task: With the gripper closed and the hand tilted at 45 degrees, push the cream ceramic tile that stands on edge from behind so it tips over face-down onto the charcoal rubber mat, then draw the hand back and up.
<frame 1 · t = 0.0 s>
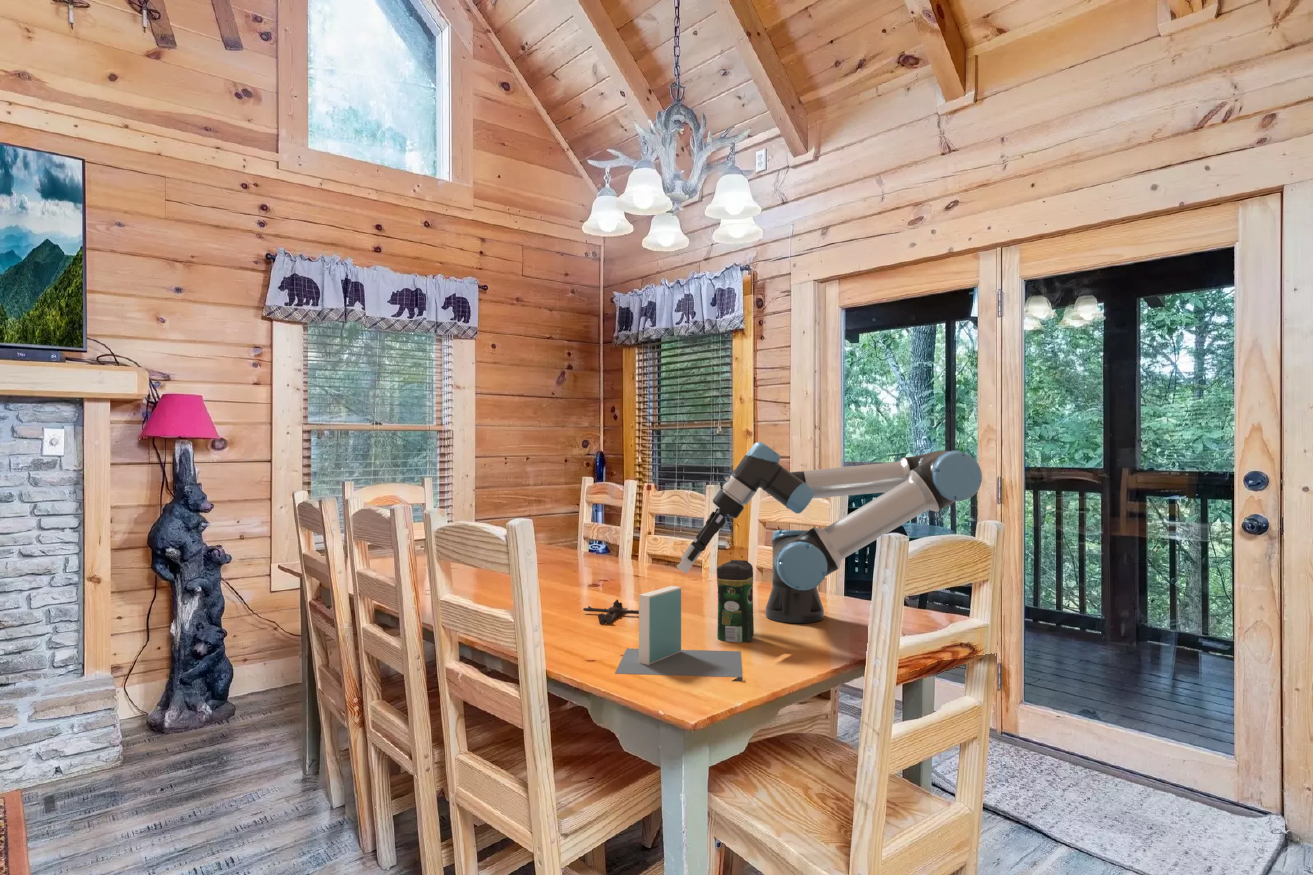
hand: (683, 565, 187), 15 cm above the table, tool tilted 35°, fingers open, 13 cm apart
coffee jar: (735, 641, 175), on the table
mat: (680, 665, 155), on the table
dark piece: (612, 619, 197), on the table
tile: (660, 656, 158), point 1 cm above the table, touching mat
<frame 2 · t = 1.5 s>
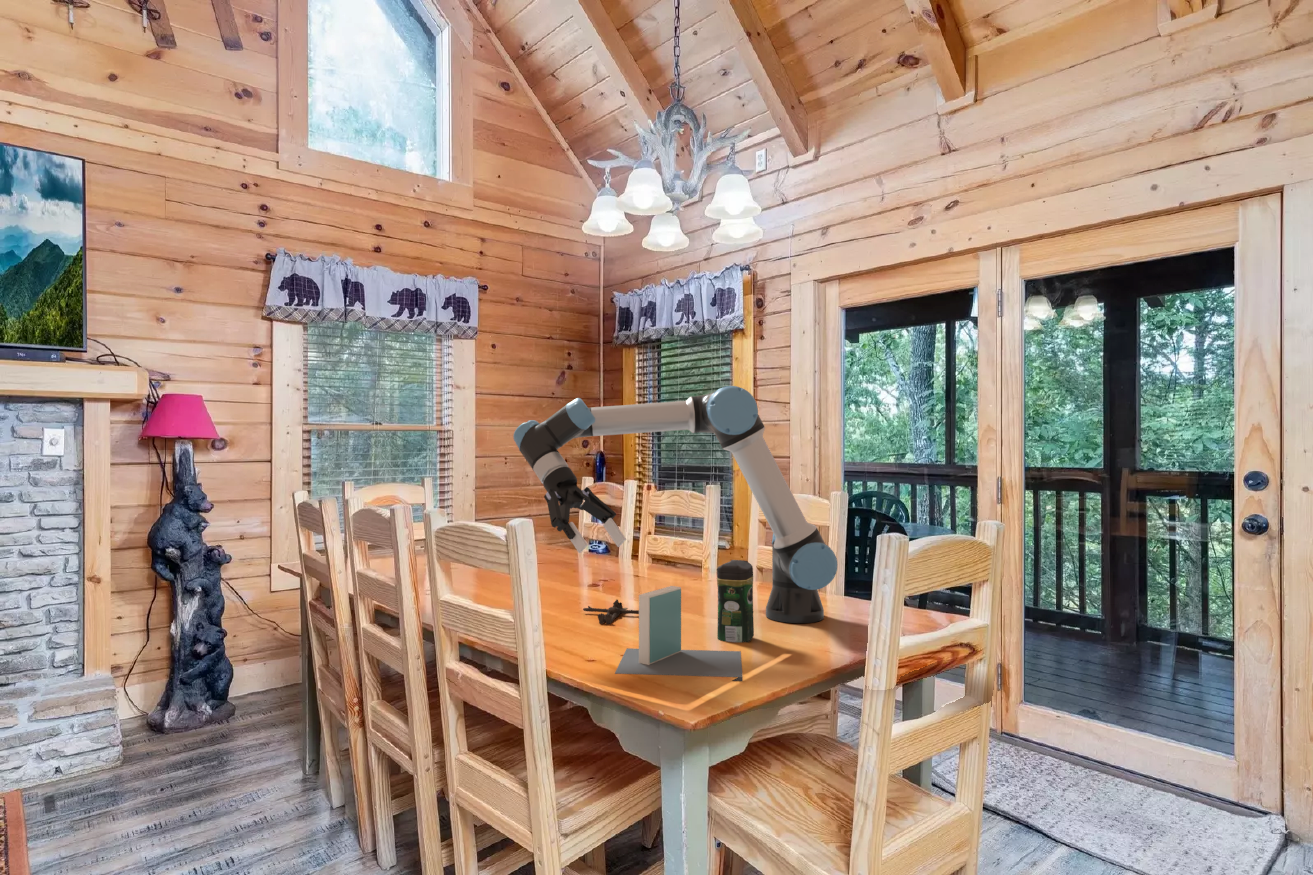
hand: (603, 546, 168), 23 cm above the table, tool tilted 45°, fingers open, 13 cm apart
nothing on the table moved.
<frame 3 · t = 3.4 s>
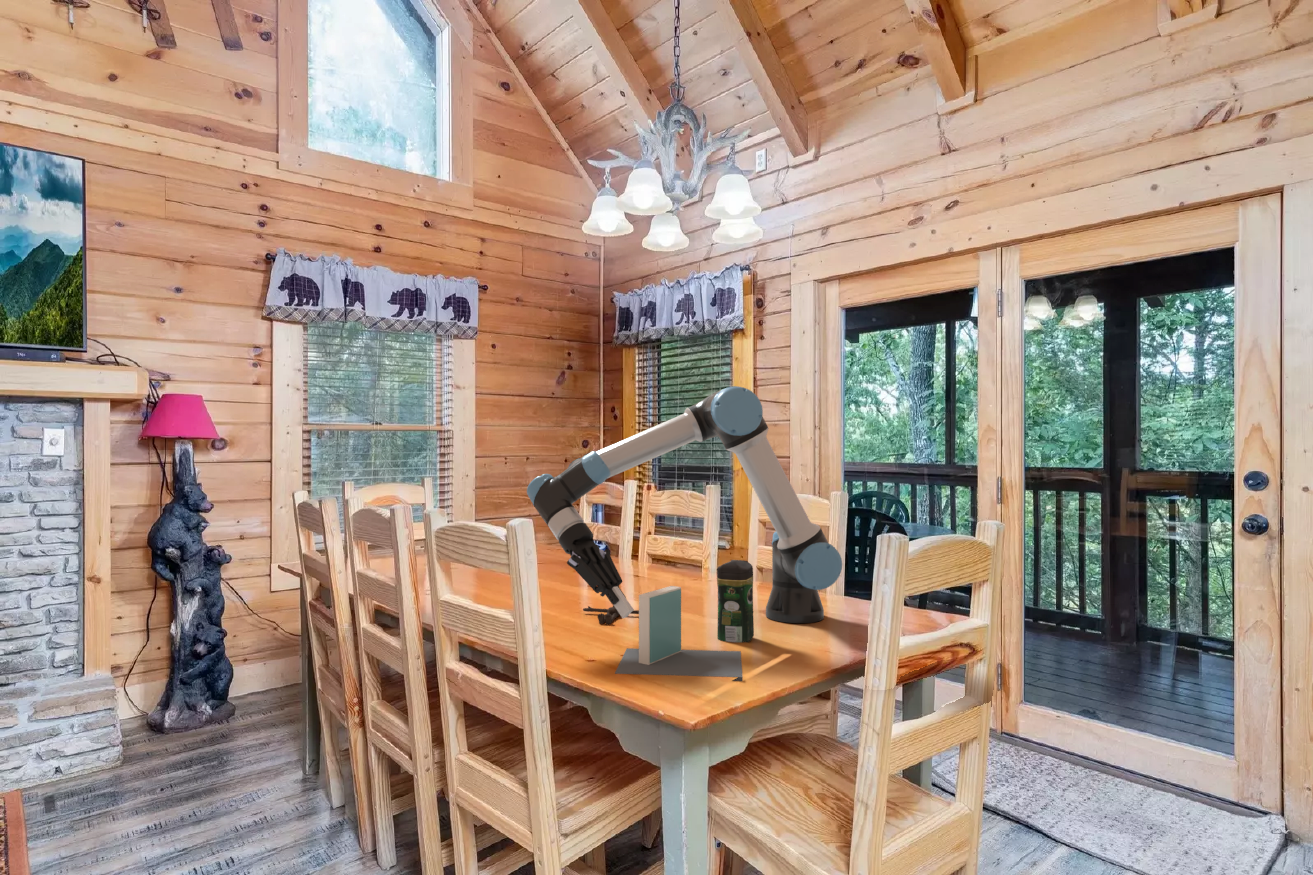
hand: (628, 613, 163), 9 cm above the table, tool tilted 45°, fingers closed
nothing on the table moved.
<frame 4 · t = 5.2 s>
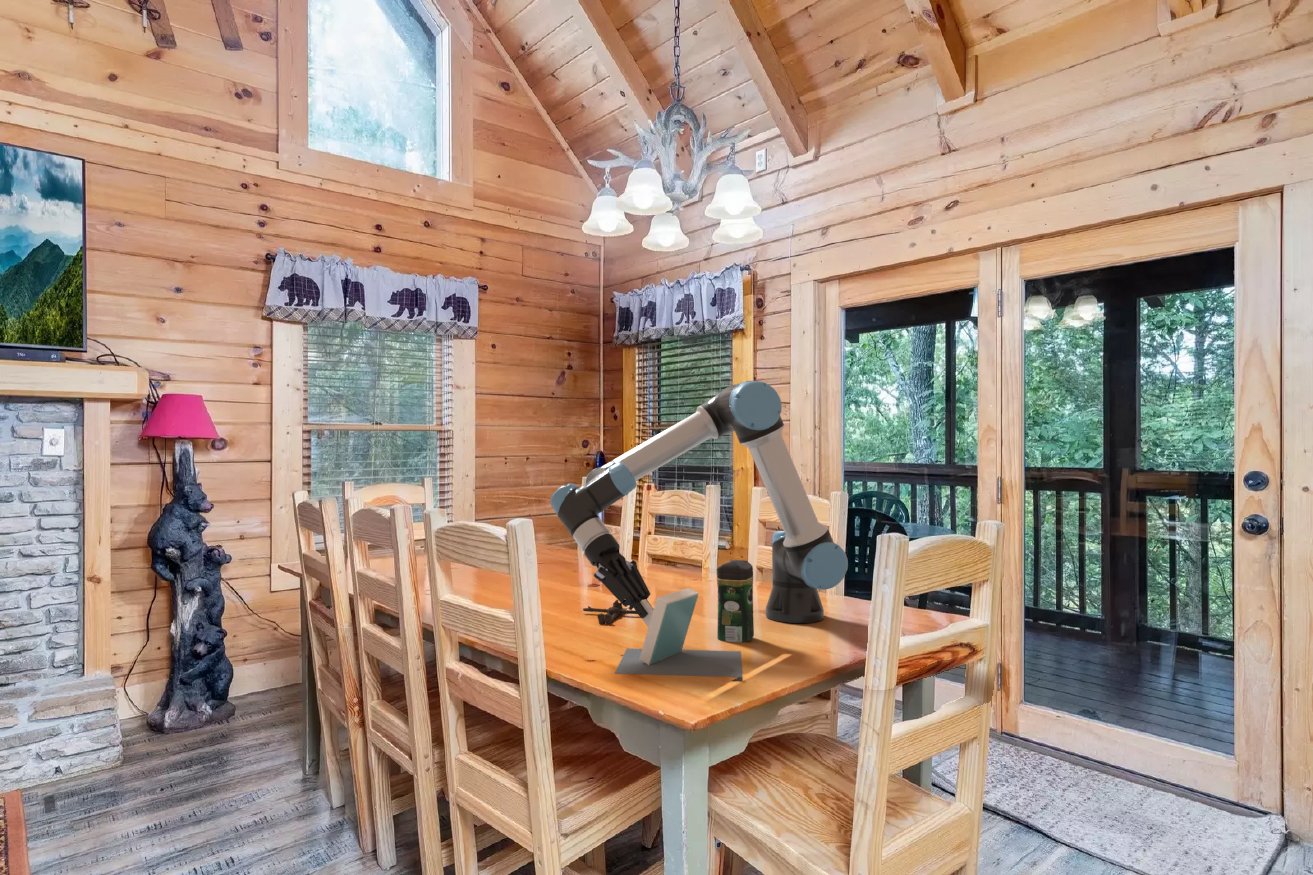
hand: (657, 627, 158), 7 cm above the table, tool tilted 45°, fingers closed
tile: (660, 655, 158), point 1 cm above the table, tilted 19°, touching mat
everything else where it was.
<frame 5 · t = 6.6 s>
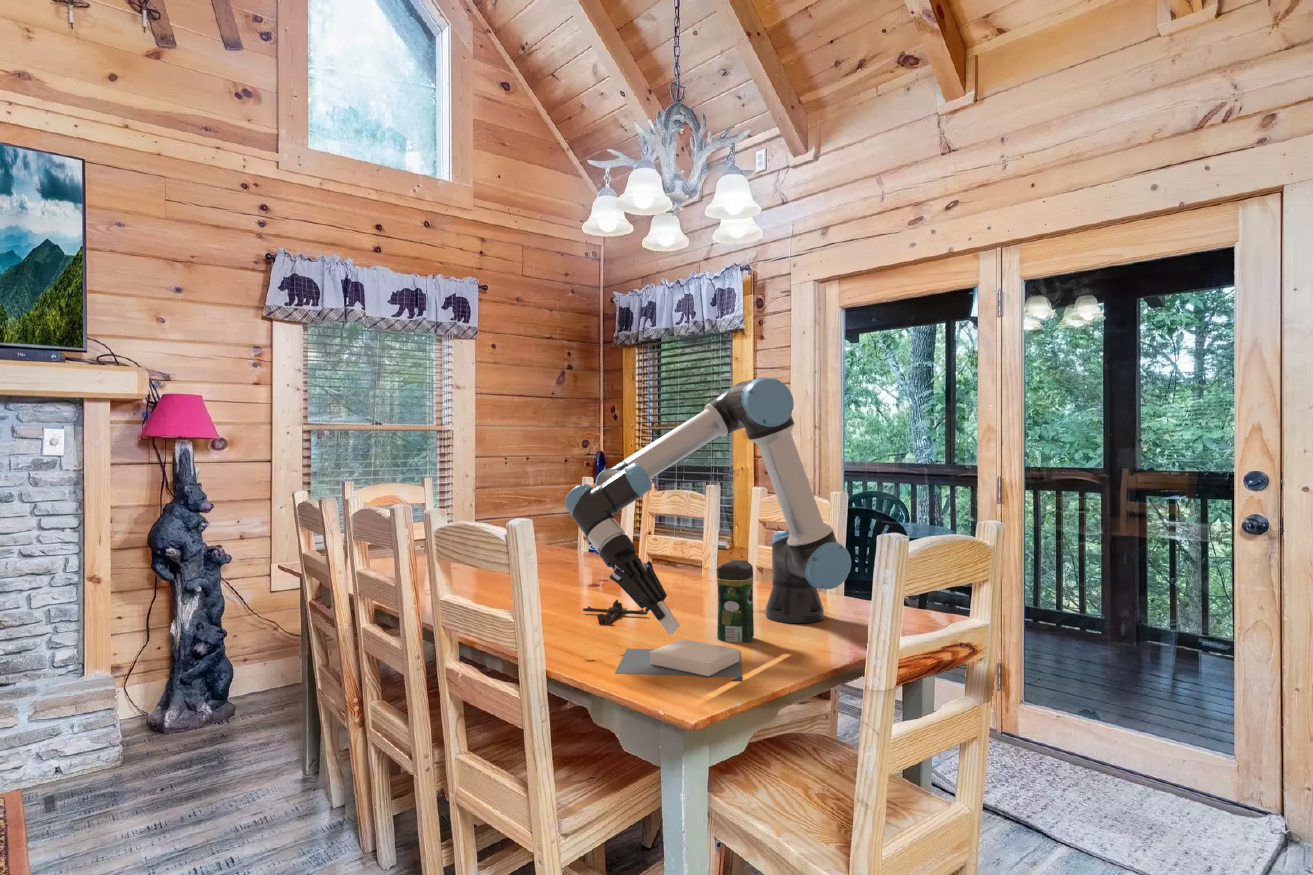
hand: (674, 629, 156), 7 cm above the table, tool tilted 45°, fingers closed
tile: (666, 650, 157), point 2 cm above the table, tilted 90°, touching mat
everything else where it was.
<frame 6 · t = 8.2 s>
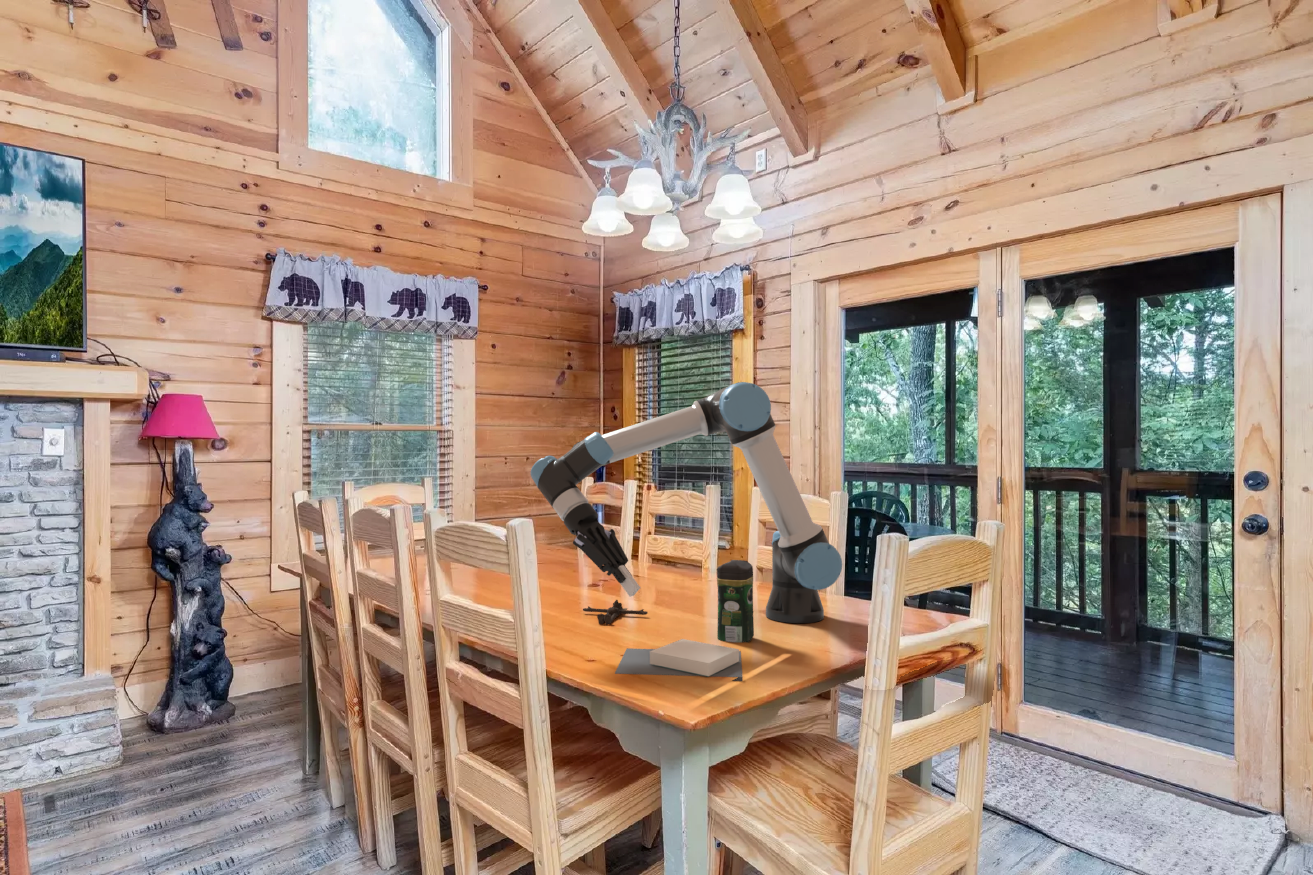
hand: (635, 592, 163), 14 cm above the table, tool tilted 45°, fingers closed
nothing on the table moved.
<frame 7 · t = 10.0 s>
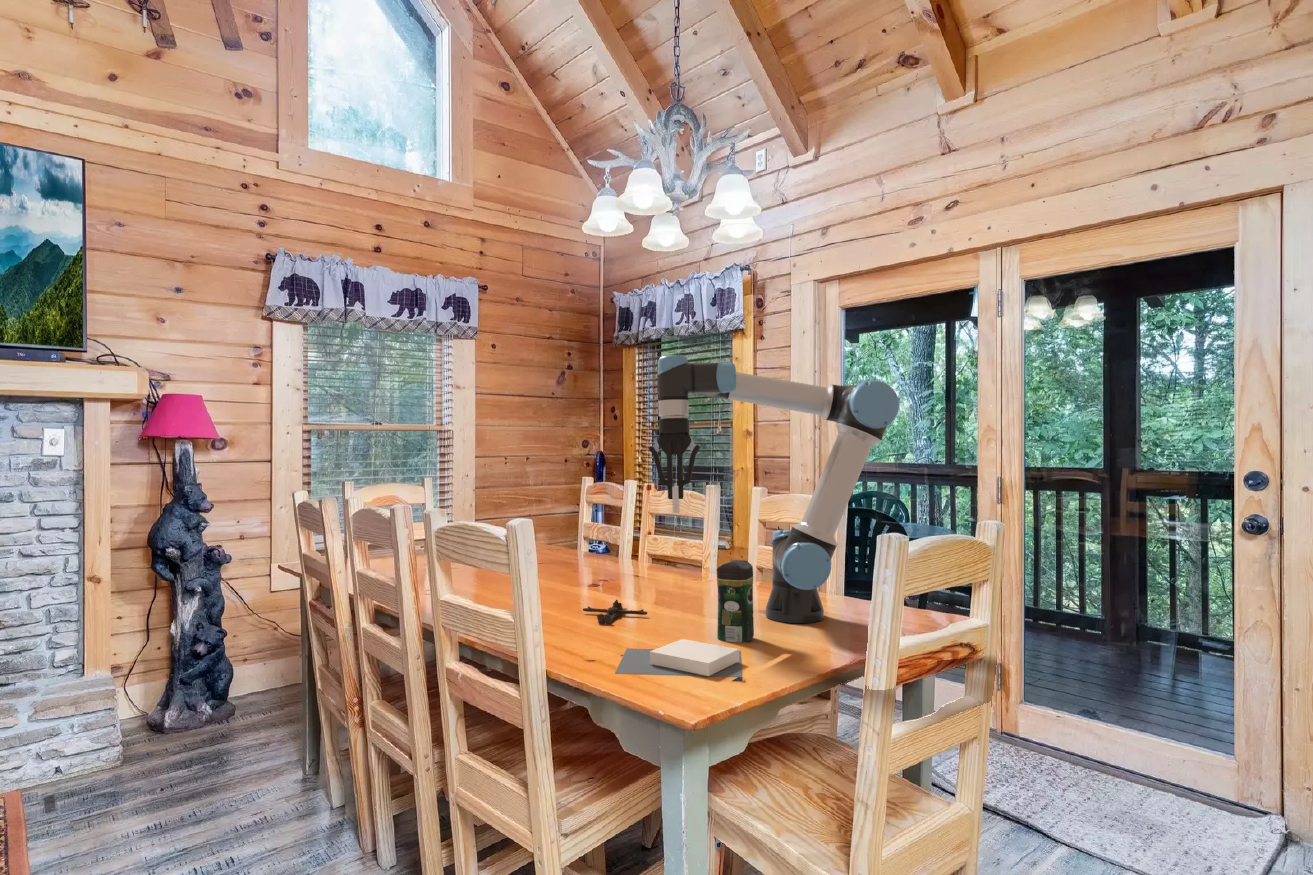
hand: (676, 512, 186), 29 cm above the table, tool pointing down, fingers closed
nothing on the table moved.
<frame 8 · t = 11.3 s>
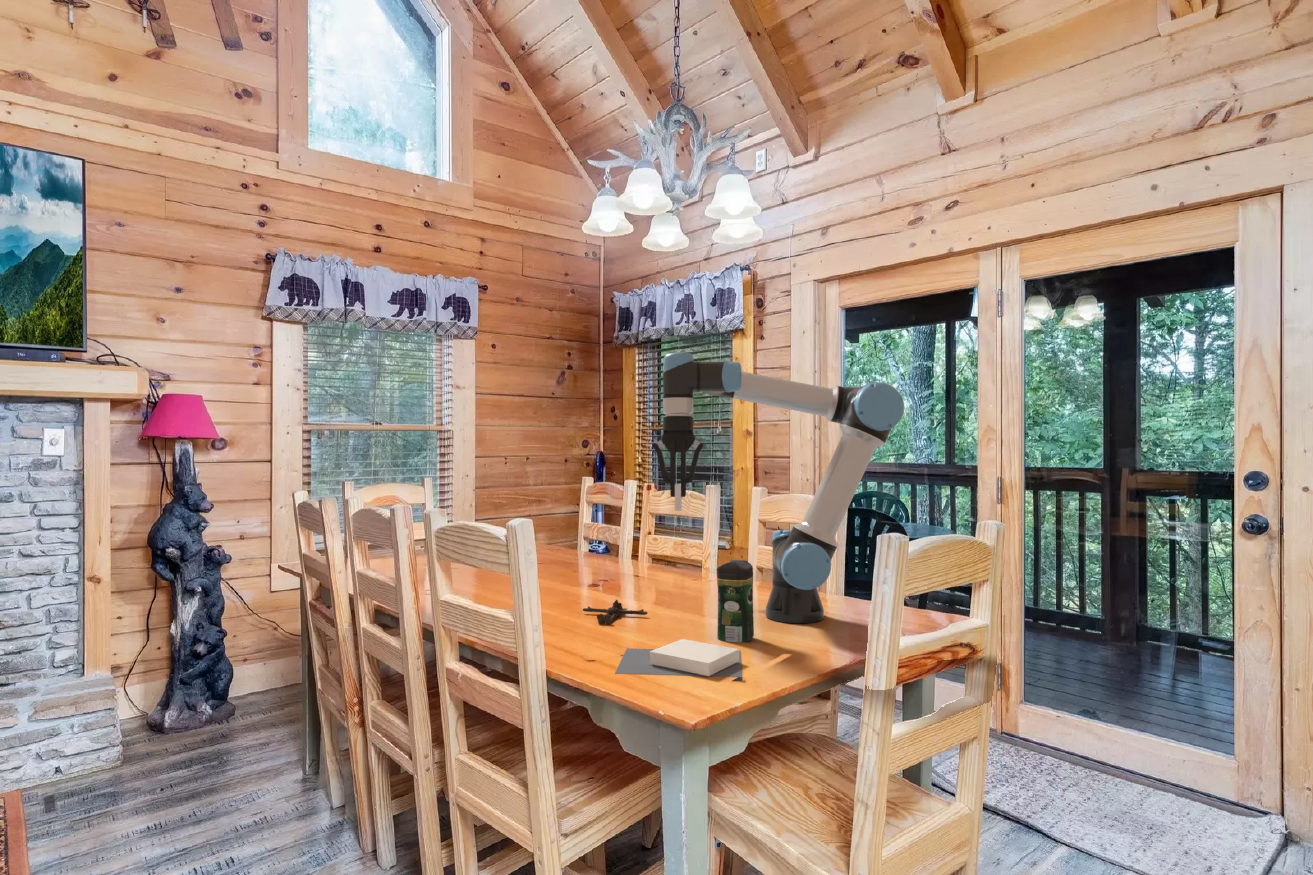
hand: (678, 510, 186), 29 cm above the table, tool pointing down, fingers closed
nothing on the table moved.
at the end: tile tilted 90°; tile inside the target area on the mat (3.8 cm from its centre), point 2.3 cm above the mat's base; tile touching mat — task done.
